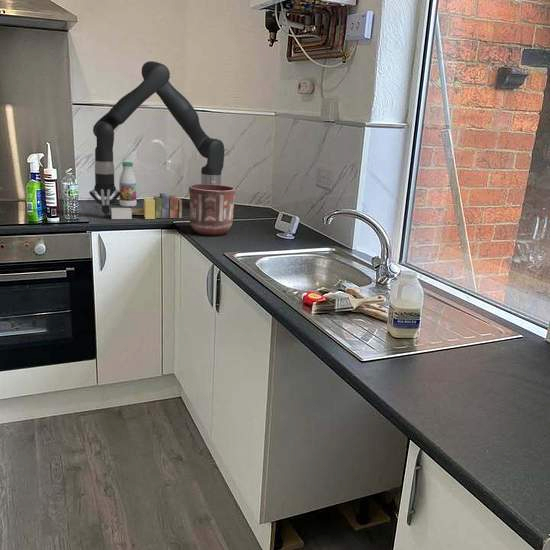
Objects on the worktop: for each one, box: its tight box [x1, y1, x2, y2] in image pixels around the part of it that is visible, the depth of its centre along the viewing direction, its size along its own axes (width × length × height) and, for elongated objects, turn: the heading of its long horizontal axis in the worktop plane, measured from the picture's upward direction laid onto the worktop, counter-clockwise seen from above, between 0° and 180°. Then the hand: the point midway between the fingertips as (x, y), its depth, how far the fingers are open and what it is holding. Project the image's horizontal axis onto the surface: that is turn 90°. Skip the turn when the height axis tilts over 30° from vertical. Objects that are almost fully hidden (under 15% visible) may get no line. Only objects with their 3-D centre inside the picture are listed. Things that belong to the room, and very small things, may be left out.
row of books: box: [109, 192, 183, 219], centre depth 243 cm, size 30×8×10 cm, turn 110°
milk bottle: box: [118, 161, 137, 208], centre depth 264 cm, size 8×8×20 cm
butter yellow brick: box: [143, 198, 156, 220], centre depth 242 cm, size 4×5×8 cm
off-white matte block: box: [110, 207, 133, 220], centre depth 239 cm, size 8×6×4 cm
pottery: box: [188, 183, 237, 237], centre depth 222 cm, size 18×18×18 cm
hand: (105, 213), depth 237 cm, fingers closed
